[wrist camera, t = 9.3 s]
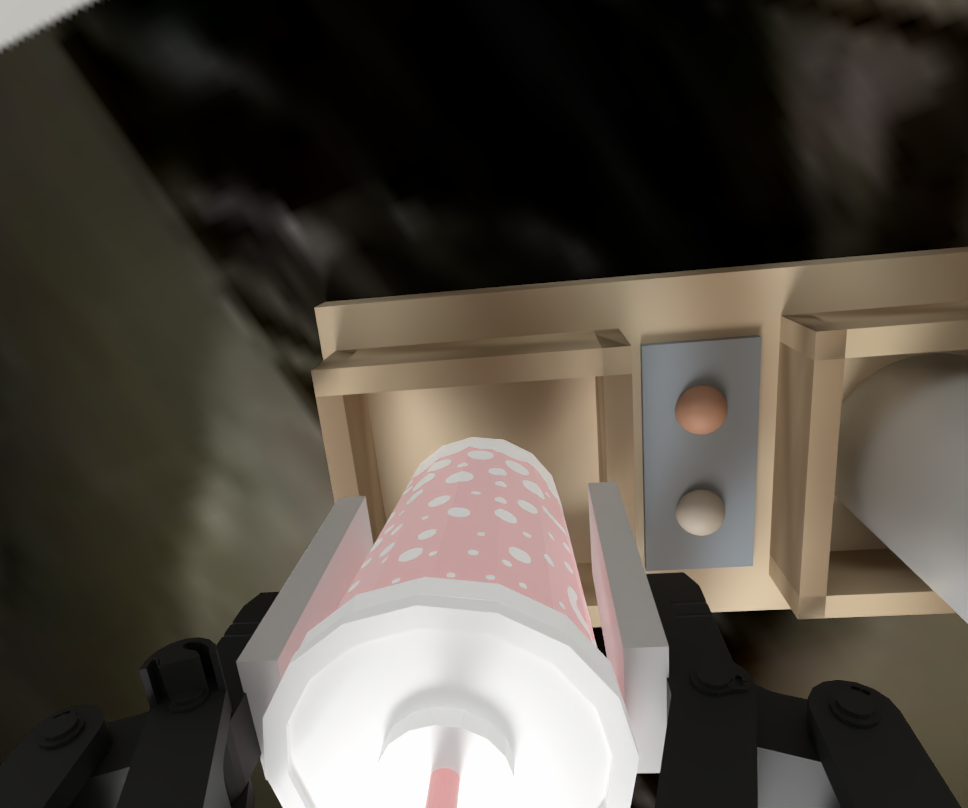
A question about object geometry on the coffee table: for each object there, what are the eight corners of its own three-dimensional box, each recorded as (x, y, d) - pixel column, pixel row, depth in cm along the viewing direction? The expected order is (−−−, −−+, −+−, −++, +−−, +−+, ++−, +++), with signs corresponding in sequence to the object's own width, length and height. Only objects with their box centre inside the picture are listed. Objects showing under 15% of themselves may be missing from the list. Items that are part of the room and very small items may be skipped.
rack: (376, 606, 25) (352, 673, 22) (325, 301, 22) (286, 321, 18) (1028, 578, 23) (1119, 646, 20) (1092, 236, 19) (1217, 243, 16)
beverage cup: (552, 620, 20) (605, 1479, 7) (361, 569, 20) (18, 1340, 6) (616, 444, 18) (874, 1150, 5) (405, 385, 18) (48, 940, 4)
